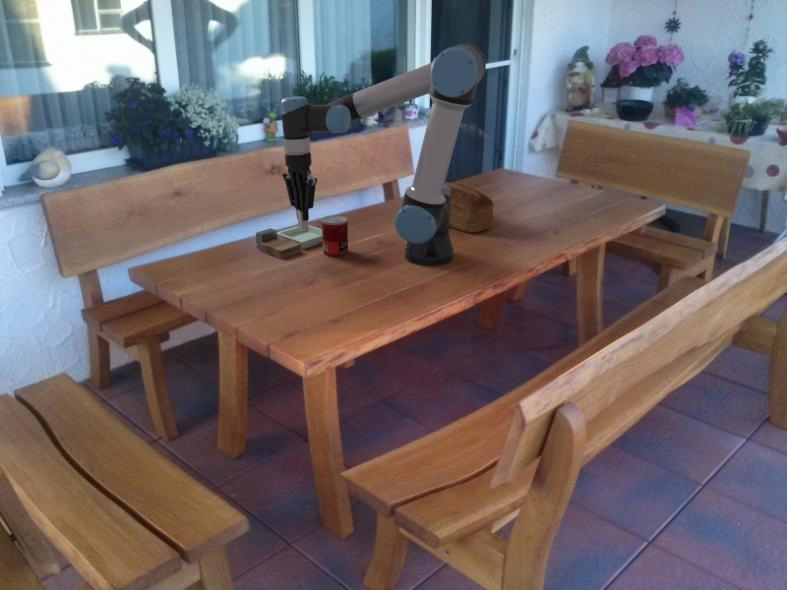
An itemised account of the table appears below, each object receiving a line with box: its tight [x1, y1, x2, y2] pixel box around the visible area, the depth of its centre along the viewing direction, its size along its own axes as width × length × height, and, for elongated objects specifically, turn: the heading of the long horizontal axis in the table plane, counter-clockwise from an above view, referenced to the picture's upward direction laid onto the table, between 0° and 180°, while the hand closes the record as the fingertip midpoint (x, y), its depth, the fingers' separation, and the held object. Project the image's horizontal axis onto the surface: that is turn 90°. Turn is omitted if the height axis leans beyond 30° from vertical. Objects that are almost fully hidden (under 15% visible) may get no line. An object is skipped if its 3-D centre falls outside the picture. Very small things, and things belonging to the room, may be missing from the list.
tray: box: [277, 224, 323, 251], centre depth 245 cm, size 13×13×2 cm
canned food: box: [321, 215, 349, 258], centre depth 233 cm, size 8×8×11 cm
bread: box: [444, 181, 495, 234], centre depth 261 cm, size 12×31×14 cm, turn 43°
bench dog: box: [255, 228, 278, 250], centre depth 239 cm, size 3×6×5 cm, turn 138°
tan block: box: [260, 237, 302, 260], centre depth 236 cm, size 10×8×3 cm
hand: (303, 230), depth 226 cm, fingers closed
